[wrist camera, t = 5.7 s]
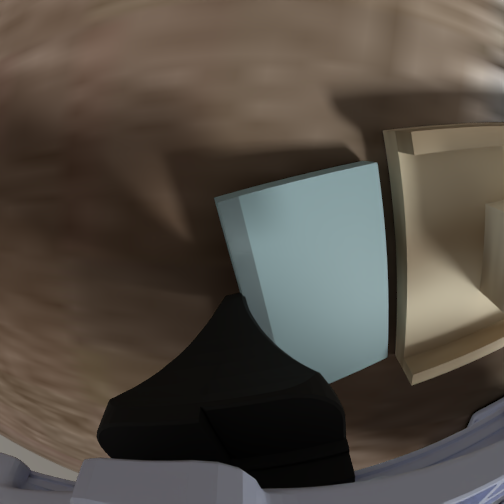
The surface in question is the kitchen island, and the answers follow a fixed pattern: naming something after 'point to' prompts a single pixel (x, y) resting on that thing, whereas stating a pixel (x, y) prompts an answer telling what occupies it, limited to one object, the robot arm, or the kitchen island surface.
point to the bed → (443, 243)
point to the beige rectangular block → (493, 254)
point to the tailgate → (314, 265)
